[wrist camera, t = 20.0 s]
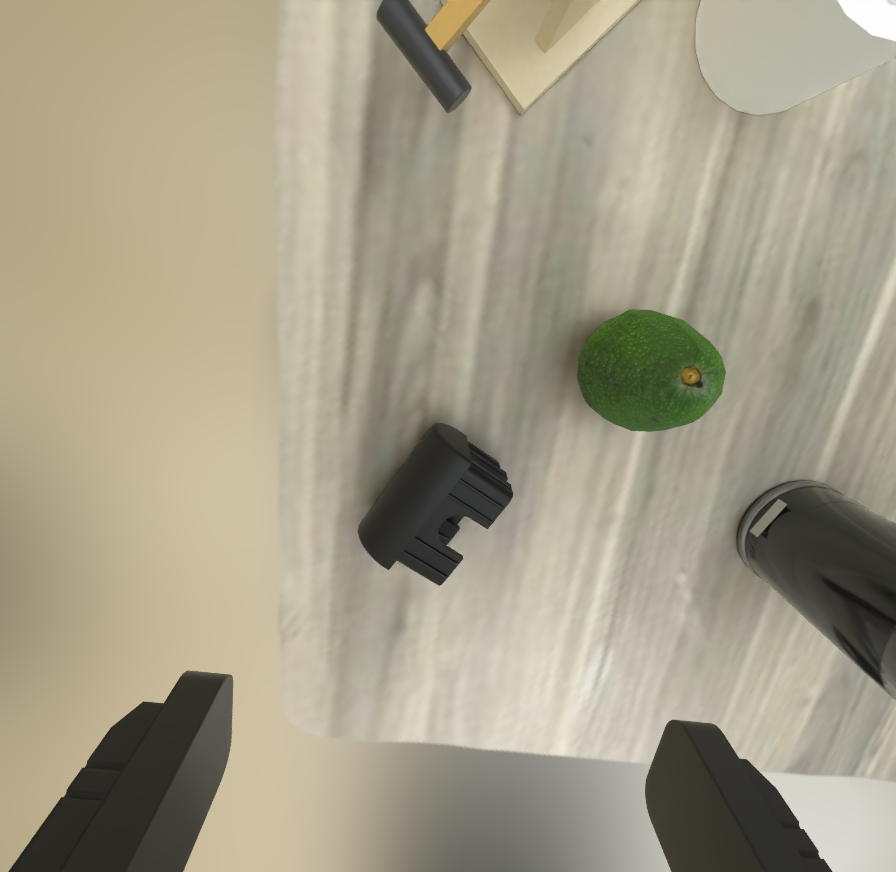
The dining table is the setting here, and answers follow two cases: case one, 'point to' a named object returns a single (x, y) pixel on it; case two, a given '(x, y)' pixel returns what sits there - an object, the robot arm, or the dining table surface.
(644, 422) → the avocado
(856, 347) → the dining table surface
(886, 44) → the mug
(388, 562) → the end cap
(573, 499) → the dining table surface
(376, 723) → the dining table surface
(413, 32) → the lever
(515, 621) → the dining table surface
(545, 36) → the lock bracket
